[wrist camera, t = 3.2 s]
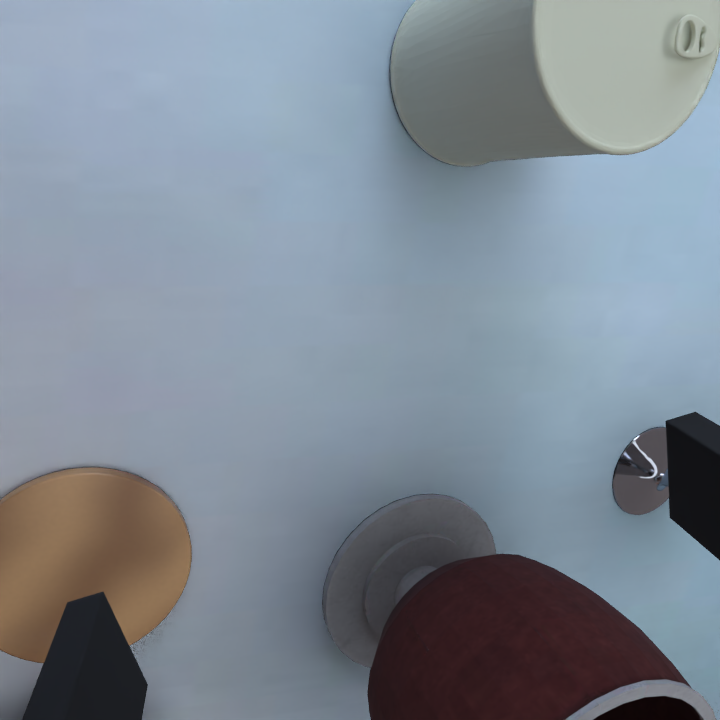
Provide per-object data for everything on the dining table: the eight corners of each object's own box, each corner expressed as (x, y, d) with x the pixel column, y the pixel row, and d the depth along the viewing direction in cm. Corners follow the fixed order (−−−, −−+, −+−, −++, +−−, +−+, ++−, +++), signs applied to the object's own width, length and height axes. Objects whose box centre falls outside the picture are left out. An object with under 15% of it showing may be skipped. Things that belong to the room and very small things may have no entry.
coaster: (-65, 648, 29) (-69, 660, 29) (-5, 447, 28) (-8, 454, 28) (156, 658, 34) (157, 668, 33) (215, 486, 33) (218, 493, 32)
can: (526, 173, 36) (710, 165, 25) (382, 158, 32) (525, 143, 21) (547, -4, 33) (760, -95, 23) (396, -39, 30) (563, -168, 19)
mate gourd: (332, 480, 36) (566, 769, 18) (521, 483, 41) (840, 704, 24) (287, 707, 39) (451, 1152, 21) (470, 681, 44) (720, 1011, 27)
